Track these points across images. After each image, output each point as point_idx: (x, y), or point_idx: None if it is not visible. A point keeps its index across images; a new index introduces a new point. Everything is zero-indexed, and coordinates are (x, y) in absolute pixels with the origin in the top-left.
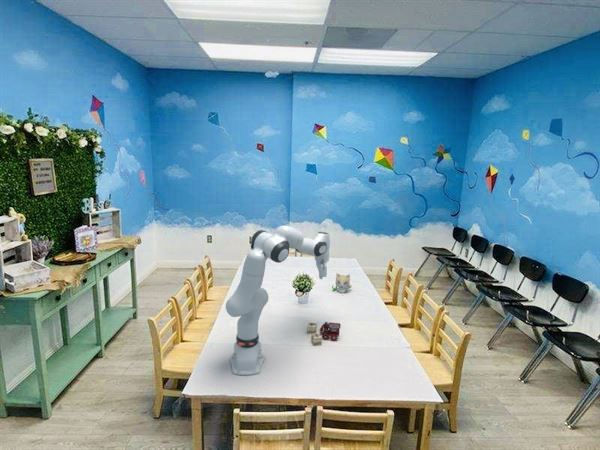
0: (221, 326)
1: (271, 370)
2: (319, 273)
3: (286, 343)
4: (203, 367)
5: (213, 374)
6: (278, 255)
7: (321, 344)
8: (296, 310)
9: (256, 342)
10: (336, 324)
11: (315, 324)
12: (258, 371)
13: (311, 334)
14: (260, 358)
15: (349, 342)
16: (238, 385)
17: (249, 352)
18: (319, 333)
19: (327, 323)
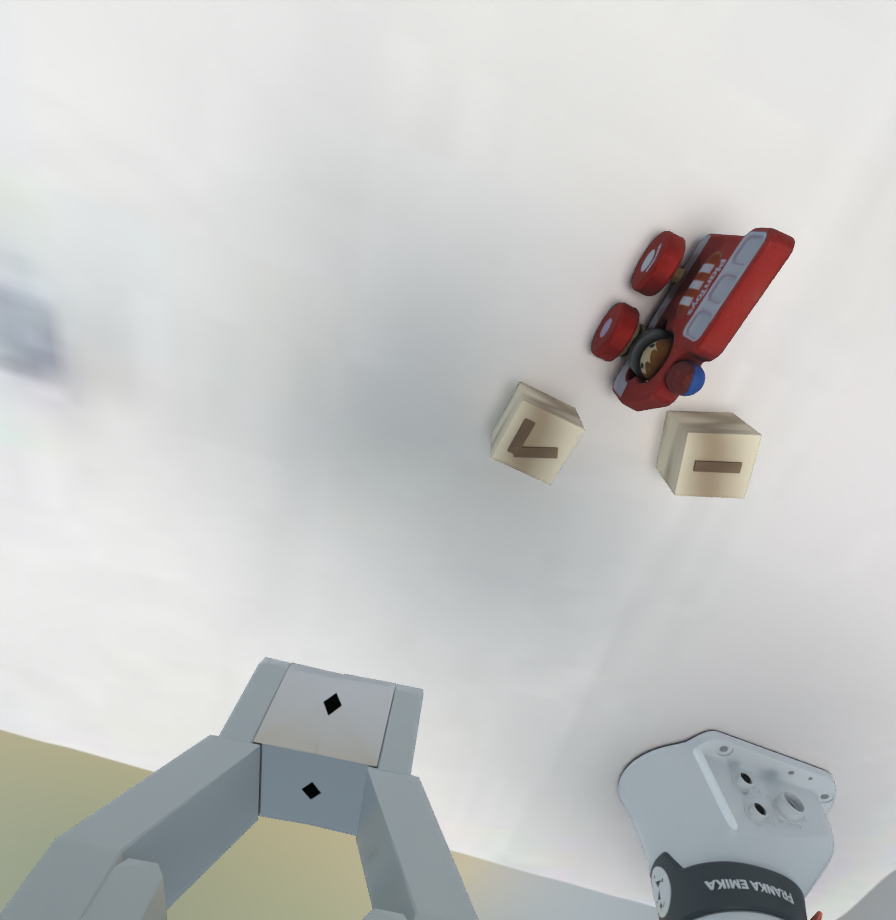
0: None
1: (839, 728)
2: (200, 868)
3: (621, 609)
4: None
5: None
6: None
7: (733, 414)
8: (185, 432)
9: (795, 895)
10: (768, 283)
11: (539, 416)
12: (834, 784)
13: (675, 493)
14: (800, 802)
15: (808, 158)
16: (866, 843)
17: (810, 888)
18: (693, 433)
19: (703, 372)
